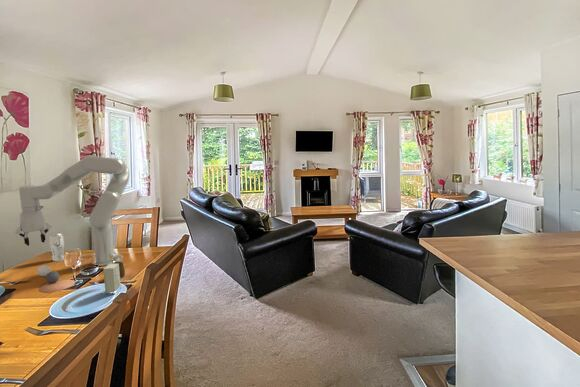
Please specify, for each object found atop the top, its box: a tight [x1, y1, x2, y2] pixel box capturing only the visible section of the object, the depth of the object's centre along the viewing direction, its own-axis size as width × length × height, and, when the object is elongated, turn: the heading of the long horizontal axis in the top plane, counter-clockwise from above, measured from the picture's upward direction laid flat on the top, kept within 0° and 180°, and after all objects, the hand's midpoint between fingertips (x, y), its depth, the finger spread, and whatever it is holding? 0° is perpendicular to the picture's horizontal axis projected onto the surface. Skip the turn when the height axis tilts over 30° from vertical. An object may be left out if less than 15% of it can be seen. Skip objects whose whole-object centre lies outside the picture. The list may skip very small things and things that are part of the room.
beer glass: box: [48, 232, 65, 262], centre depth 196 cm, size 7×7×15 cm
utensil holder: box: [109, 254, 126, 279], centre depth 168 cm, size 6×6×12 cm
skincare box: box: [103, 263, 122, 294], centre depth 150 cm, size 6×4×12 cm
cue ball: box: [36, 264, 52, 277], centre depth 171 cm, size 6×6×6 cm
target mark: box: [38, 279, 76, 293], centre depth 158 cm, size 14×14×1 cm
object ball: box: [45, 271, 60, 283], centre depth 162 cm, size 6×6×6 cm
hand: (35, 243), depth 175 cm, fingers open, 5 cm apart
